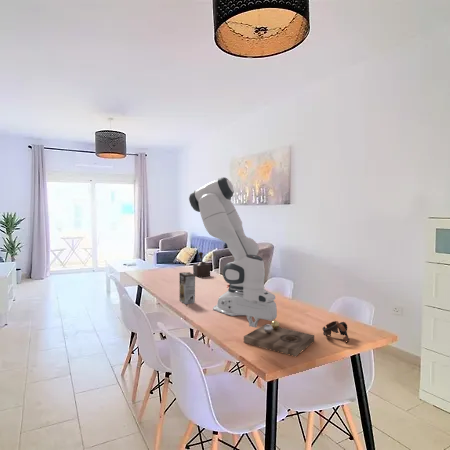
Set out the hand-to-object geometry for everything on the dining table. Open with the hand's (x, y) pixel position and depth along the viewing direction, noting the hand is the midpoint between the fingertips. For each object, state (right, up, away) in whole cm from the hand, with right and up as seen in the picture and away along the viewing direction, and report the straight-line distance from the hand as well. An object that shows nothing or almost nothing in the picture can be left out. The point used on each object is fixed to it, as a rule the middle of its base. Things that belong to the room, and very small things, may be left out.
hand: (253, 326), depth 142 cm
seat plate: (+10, -4, -7) cm, 13 cm away
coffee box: (-33, -1, +51) cm, 61 cm away
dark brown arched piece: (+35, -5, -2) cm, 35 cm away
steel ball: (+6, 0, -4) cm, 7 cm away
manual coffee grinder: (-31, +2, +130) cm, 133 cm away
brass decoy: (+9, 0, +1) cm, 9 cm away
